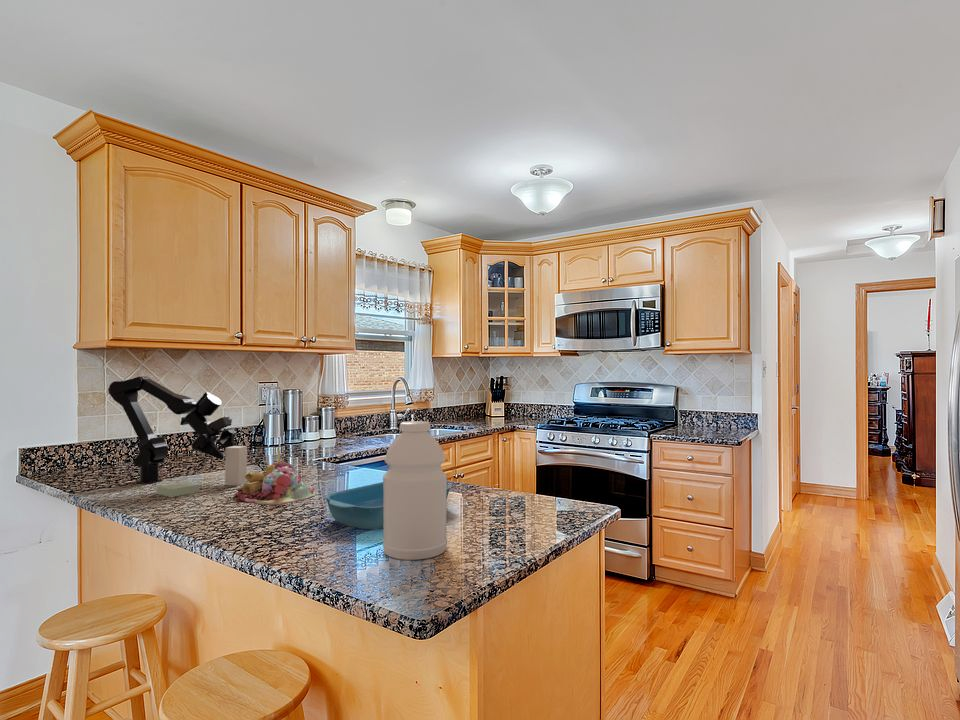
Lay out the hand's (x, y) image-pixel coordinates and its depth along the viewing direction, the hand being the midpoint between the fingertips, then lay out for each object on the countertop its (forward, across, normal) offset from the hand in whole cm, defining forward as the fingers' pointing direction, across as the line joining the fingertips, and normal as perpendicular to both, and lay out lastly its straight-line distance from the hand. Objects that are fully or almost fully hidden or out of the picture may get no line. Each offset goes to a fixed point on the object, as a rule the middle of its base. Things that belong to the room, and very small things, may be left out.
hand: (230, 456), depth 192 cm
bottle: (+66, -63, -51) cm, 104 cm away
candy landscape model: (+25, -15, -11) cm, 31 cm away
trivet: (+1, -16, +12) cm, 20 cm away
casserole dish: (+56, -35, -41) cm, 78 cm away
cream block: (+8, 0, +5) cm, 10 cm away
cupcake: (+18, +5, -4) cm, 20 cm away
